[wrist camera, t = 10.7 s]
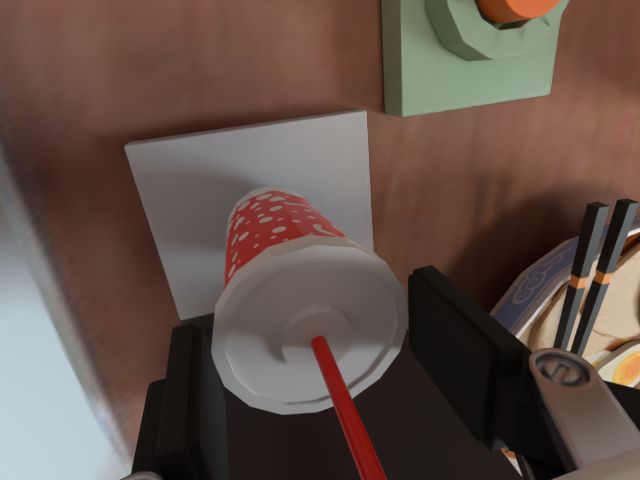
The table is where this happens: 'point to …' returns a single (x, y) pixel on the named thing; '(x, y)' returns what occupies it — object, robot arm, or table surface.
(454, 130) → the table surface
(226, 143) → the coffee maker
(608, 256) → the ramen bowl
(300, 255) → the beverage cup
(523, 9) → the button
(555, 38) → the brew pad
